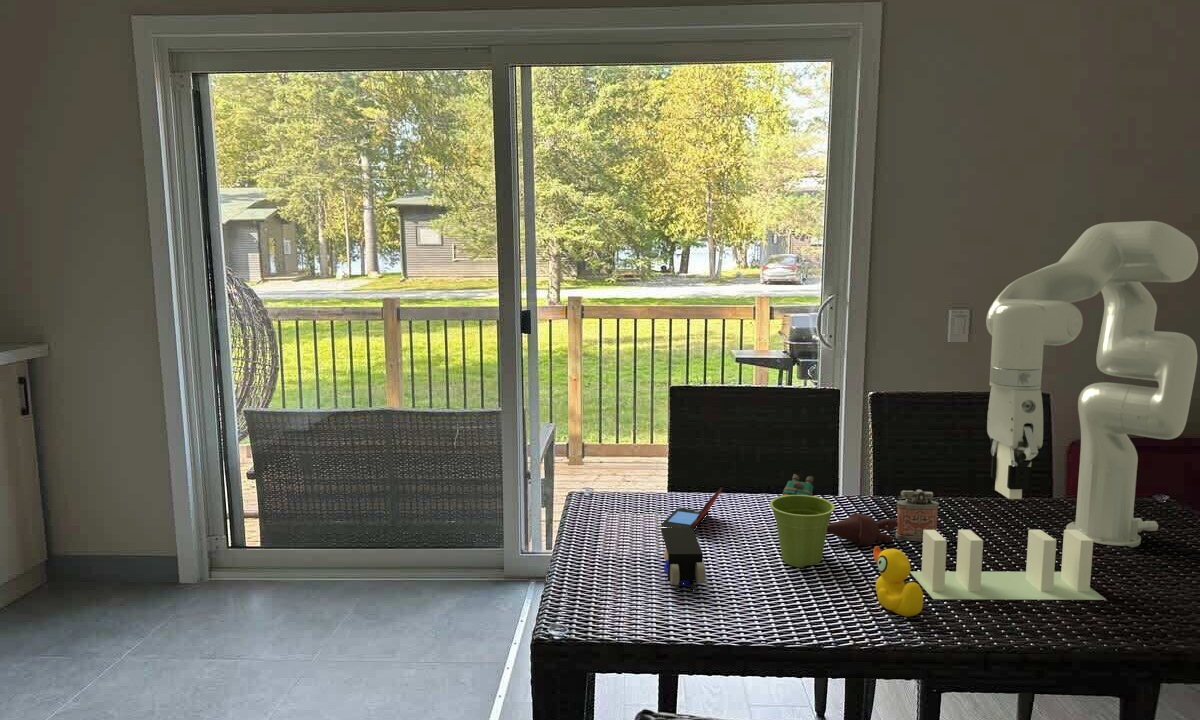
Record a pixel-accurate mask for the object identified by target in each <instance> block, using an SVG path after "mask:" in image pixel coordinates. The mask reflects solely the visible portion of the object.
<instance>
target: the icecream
mask: <svg viewBox="0 0 1200 720" xmlns="http://www.w3.org/2000/svg"><path fill="white" fill-rule="evenodd" d="M897 526H898V523H897V519H893V518H884V519H882V520H879V521H876V520H875V519H874V518H873V517H871V516H870V515H868V514H865V513H864V514H863V513H858V512H856V511H855V512H854V513H852V514H851V515H849V516H848V518H845V519H843V520H838V521H836V522H832V523H828V527H827V532H826V533H829V534H830V535H834V536H836V537H838V538H841V539H843V540H845V541H848V542H850V543H853V544H855V546H856V547H858V548H859V547H870V546H872V545H874V544H875V543H878V542H879V543H880V542H881V543H889V542H894V538H893V537H892V536H891V535H889V534H887V533H882V532H881V531H885V532H886V531H891V530H895V529H897Z"/></svg>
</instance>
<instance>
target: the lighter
mask: <svg viewBox="0 0 1200 720" xmlns="http://www.w3.org/2000/svg"><path fill="white" fill-rule="evenodd" d="M900 497H901V498H902V499H903V500H897V501H896V506H897V517H896V521H897V523H898V526H897V527H896V531H895V538H896V539H898V540H901V541H914V542H915V541H916V542H917V541H918V542H923V530H936V531H937V529H938V527H937V526H938V510H939V509H938V508H939V507H940V506H939V505H940V503H939V502H938V501H935V500H933V499H934V493H933V492H932V491H923V490H922V489H916V490H915V491H914V490H902V491H900ZM904 499H905V500H904ZM937 532H938V531H937Z"/></svg>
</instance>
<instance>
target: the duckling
mask: <svg viewBox="0 0 1200 720" xmlns="http://www.w3.org/2000/svg"><path fill="white" fill-rule="evenodd" d="M872 552H873V560H874V562H875V564H876V565H877V568H878V572H879V573H880V576H879V577H878V578H877V579H876V582H875V591H876V594H877V600H878V603H879V604H880V605H881V606H882V607H883V608H885V609H886V610H887V611H891V612H893V613H894V614H897V615H899V616H902V617H905V618H907V617H908V618H909V617H914V616H917V615H919V613H921V611H922V610H923V608H924V607H923V606H924V592H923V589H922V588H921V585H920V584H918V583H917V582H915V581H909V582H907V583H905V582H904V581H905V580H906V579H908V578H909V576H910V574H911V573H910V571H911V569H912V568H911V563H910V560H909V558H908V556H907V555H906V554H905V553H904V552H903V551H901V550H900V549H897V548H887V549H884V550H881V547H880V546H878V545H876V546H874V547H873V551H872Z"/></svg>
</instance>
